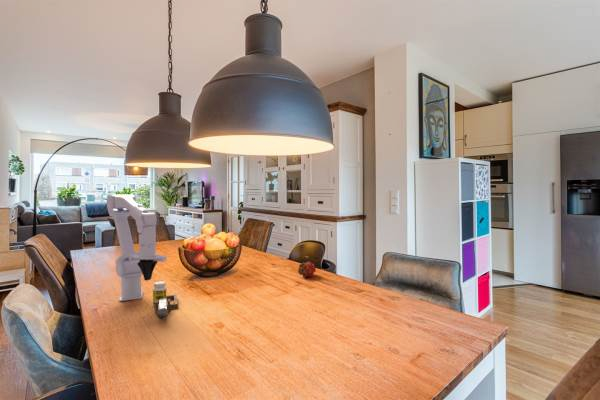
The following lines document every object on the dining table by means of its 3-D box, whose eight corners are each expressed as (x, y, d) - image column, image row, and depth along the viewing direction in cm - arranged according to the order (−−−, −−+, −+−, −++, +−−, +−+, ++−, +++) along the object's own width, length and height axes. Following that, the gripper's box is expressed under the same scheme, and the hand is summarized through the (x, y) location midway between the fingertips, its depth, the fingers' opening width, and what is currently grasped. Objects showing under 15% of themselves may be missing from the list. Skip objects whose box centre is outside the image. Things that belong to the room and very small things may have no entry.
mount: (156, 300, 121) (156, 290, 121) (176, 298, 124) (176, 288, 124) (155, 313, 108) (155, 302, 108) (177, 310, 111) (177, 299, 111)
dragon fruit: (300, 282, 151) (309, 280, 162) (314, 274, 149) (322, 271, 160) (292, 267, 154) (301, 266, 165) (305, 258, 152) (314, 258, 163)
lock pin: (158, 306, 111) (158, 297, 111) (167, 305, 113) (167, 296, 113) (157, 319, 100) (157, 309, 100) (168, 317, 101) (167, 308, 101)
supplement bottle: (155, 307, 114) (155, 285, 114) (151, 304, 118) (150, 282, 117) (168, 304, 118) (168, 282, 117) (163, 301, 121) (163, 280, 121)
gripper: (171, 243, 118) (171, 277, 119) (137, 242, 121) (137, 276, 121) (159, 245, 111) (160, 282, 112) (124, 245, 114) (125, 281, 114)
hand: (147, 279), depth 116 cm, fingers closed
